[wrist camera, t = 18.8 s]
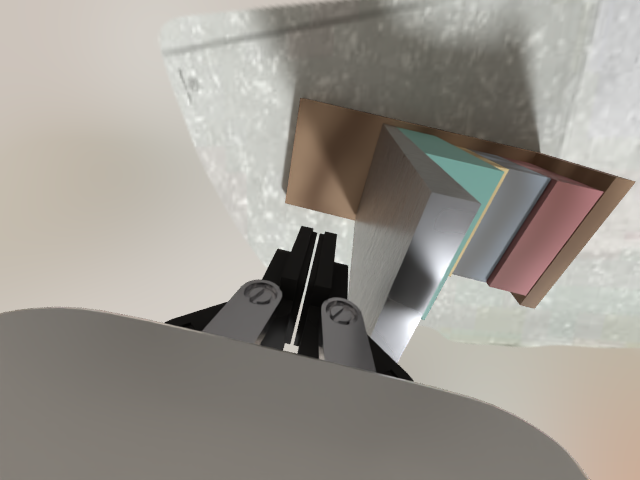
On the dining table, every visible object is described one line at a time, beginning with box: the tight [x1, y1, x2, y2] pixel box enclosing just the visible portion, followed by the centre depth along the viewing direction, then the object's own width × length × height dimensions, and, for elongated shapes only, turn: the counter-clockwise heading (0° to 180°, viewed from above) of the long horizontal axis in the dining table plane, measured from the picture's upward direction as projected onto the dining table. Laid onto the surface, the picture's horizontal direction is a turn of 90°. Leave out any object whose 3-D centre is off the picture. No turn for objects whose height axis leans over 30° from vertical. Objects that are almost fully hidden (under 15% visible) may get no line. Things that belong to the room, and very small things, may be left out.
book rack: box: [285, 98, 635, 309], centre depth 25 cm, size 24×11×10 cm, turn 78°
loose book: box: [397, 127, 504, 320], centre depth 22 cm, size 4×10×14 cm, turn 169°
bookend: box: [348, 123, 481, 363], centre depth 18 cm, size 1×10×22 cm, turn 168°
